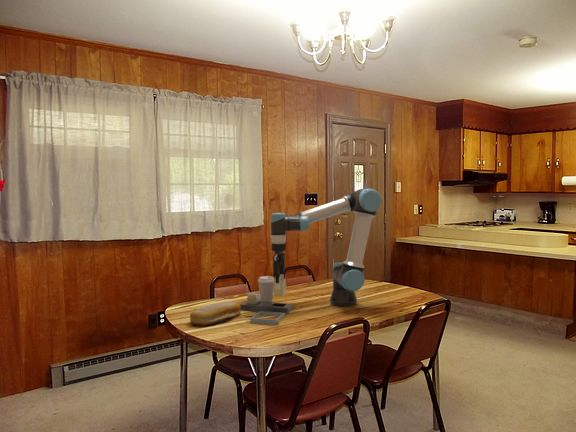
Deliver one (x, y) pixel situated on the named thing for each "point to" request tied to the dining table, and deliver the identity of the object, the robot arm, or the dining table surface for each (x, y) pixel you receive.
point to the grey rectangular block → (253, 298)
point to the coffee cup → (266, 288)
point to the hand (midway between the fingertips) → (279, 287)
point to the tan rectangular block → (280, 291)
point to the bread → (215, 313)
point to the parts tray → (266, 321)
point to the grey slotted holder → (267, 307)
